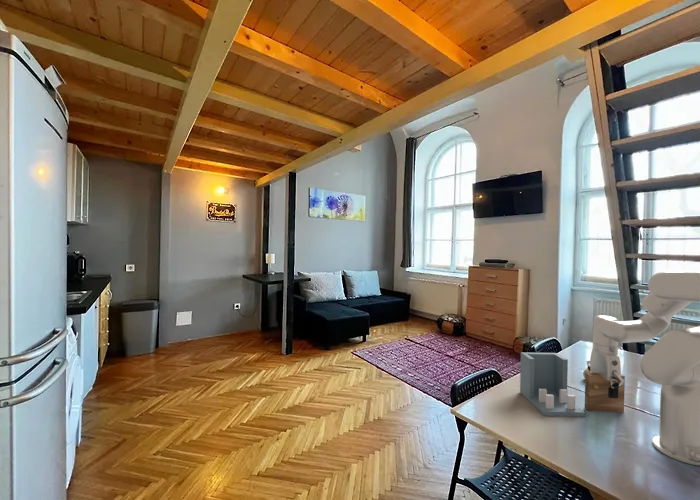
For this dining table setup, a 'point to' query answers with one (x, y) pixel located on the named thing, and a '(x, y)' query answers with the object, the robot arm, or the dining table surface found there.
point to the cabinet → (547, 384)
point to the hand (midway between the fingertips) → (603, 391)
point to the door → (602, 394)
